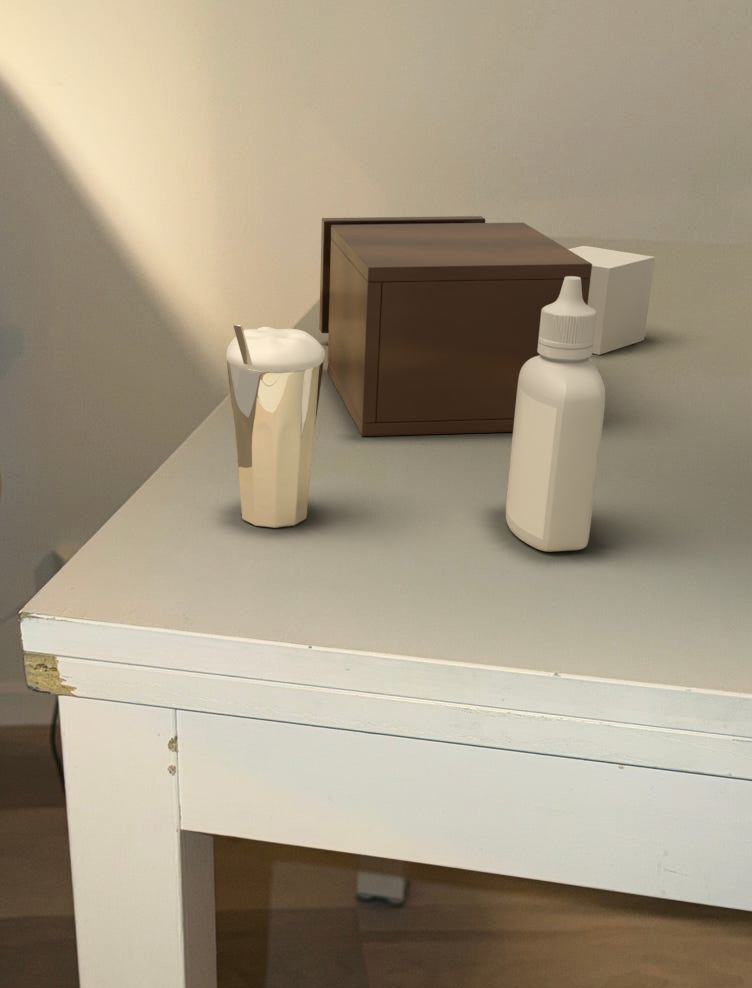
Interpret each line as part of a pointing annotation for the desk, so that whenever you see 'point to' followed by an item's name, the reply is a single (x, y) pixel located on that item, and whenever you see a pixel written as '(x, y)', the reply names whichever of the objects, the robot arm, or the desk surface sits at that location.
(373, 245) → the cabinet
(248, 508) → the milkshake
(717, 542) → the desk surface
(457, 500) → the desk surface
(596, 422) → the eye dropper bottle
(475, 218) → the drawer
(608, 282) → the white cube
